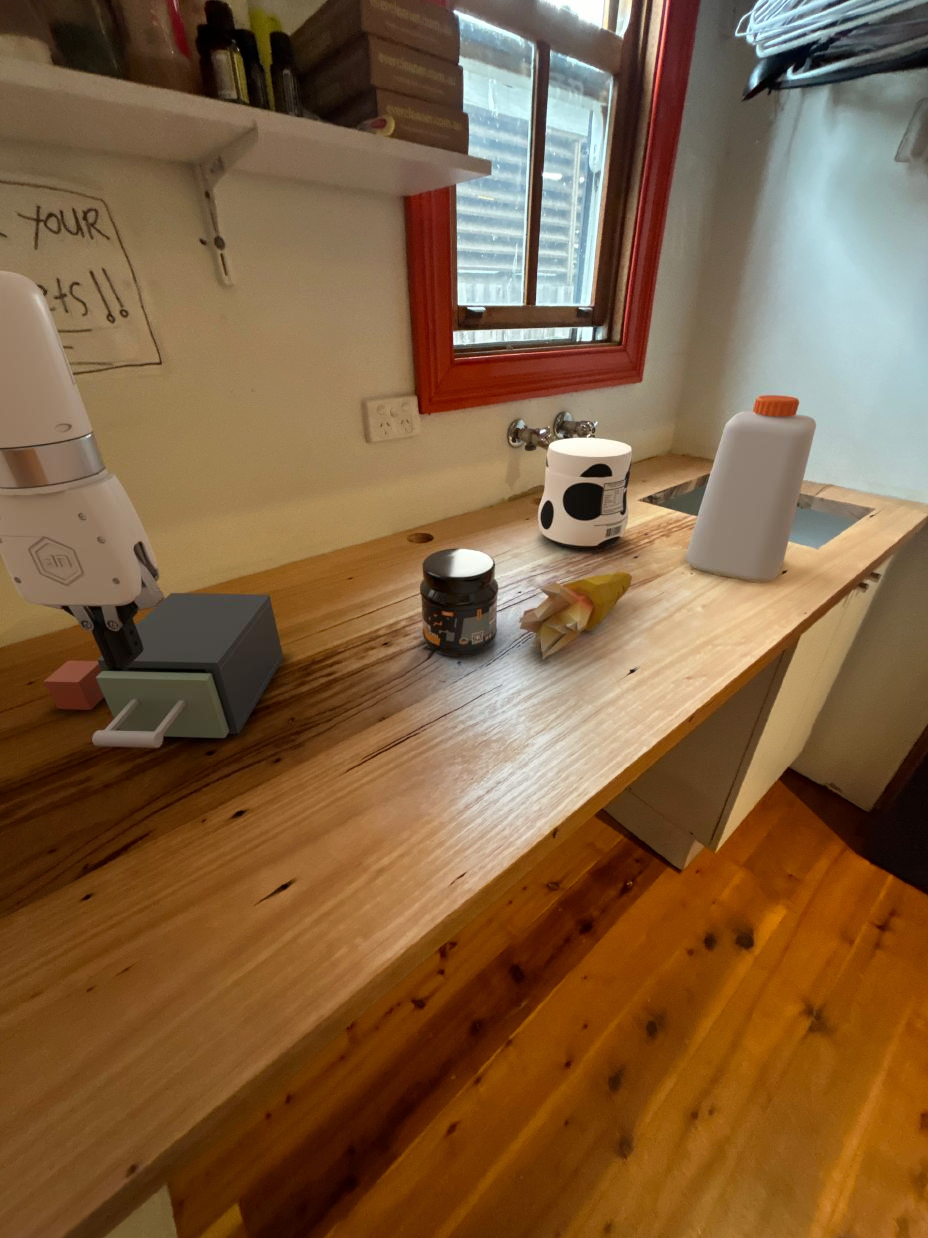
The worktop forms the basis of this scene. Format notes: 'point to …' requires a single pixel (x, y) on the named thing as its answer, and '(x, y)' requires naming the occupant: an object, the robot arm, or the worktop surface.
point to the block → (75, 685)
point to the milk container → (585, 492)
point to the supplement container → (459, 601)
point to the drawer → (160, 706)
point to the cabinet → (215, 645)
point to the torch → (573, 609)
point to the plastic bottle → (753, 492)
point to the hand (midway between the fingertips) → (126, 659)
